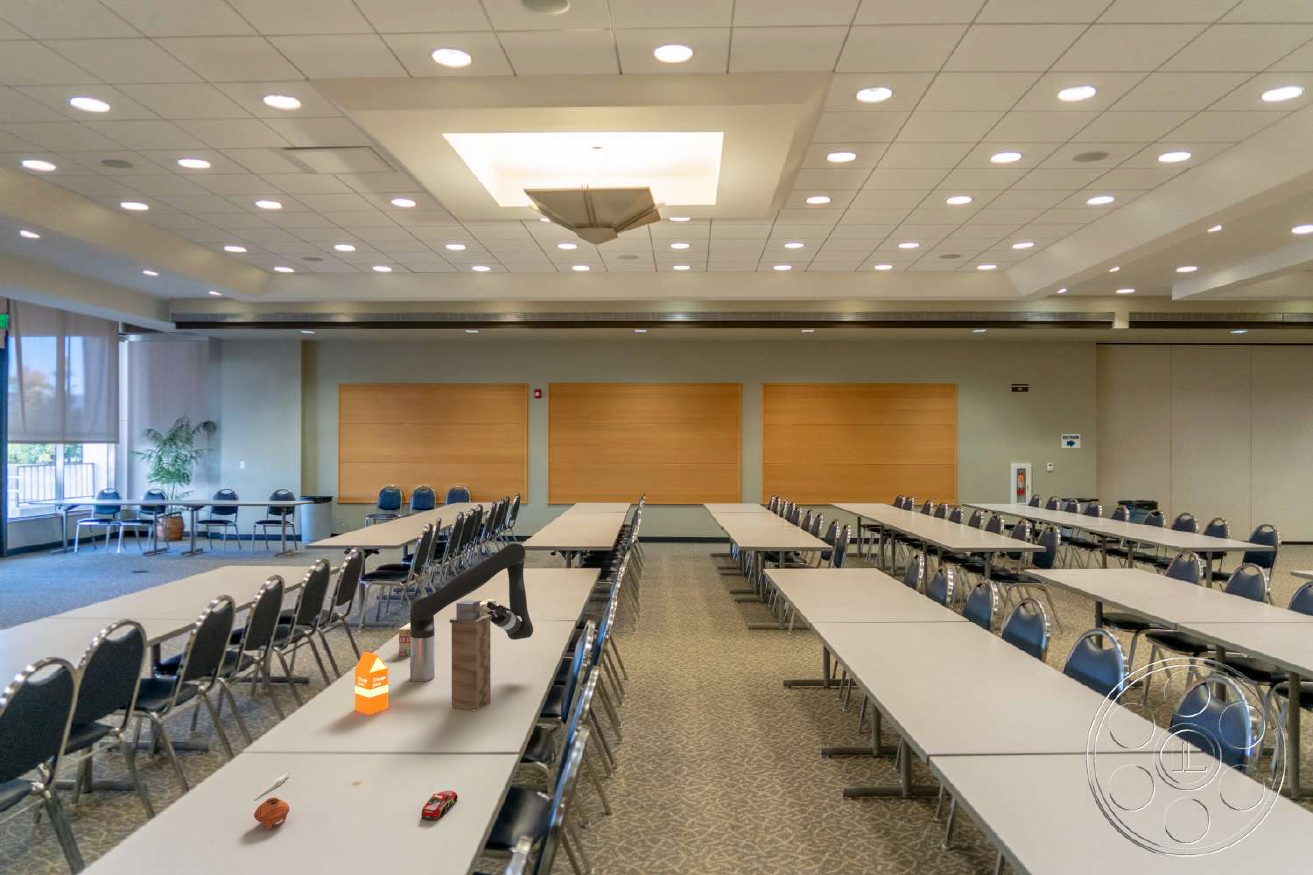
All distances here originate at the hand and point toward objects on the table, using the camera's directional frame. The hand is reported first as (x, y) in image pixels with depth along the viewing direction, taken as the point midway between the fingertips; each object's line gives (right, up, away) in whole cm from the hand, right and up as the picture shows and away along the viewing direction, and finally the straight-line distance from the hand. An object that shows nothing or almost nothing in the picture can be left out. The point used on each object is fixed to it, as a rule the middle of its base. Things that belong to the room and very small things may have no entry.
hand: (483, 603), depth 285 cm
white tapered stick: (-42, -35, -74) cm, 92 cm away
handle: (-1, -3, -3) cm, 5 cm away
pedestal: (-2, -35, -8) cm, 36 cm away
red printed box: (-47, -36, +66) cm, 89 cm away
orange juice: (-38, -36, -12) cm, 53 cm away
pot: (-32, -35, -95) cm, 106 cm away
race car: (+8, -35, -87) cm, 94 cm away
